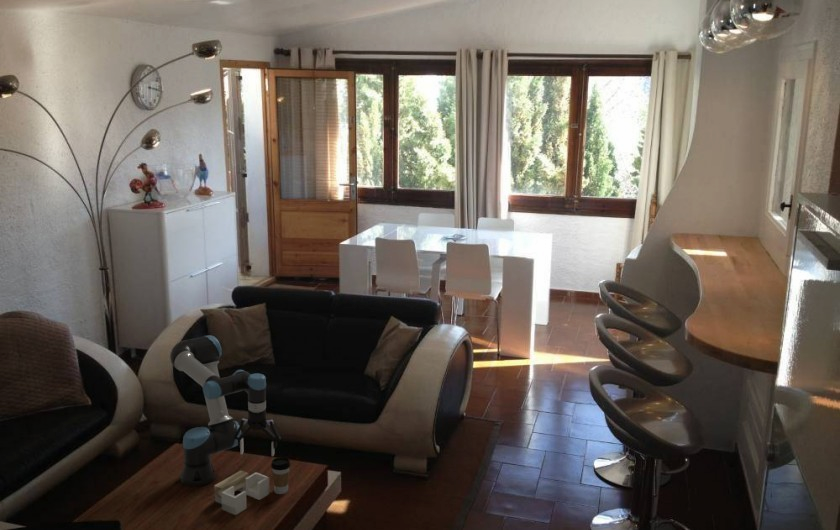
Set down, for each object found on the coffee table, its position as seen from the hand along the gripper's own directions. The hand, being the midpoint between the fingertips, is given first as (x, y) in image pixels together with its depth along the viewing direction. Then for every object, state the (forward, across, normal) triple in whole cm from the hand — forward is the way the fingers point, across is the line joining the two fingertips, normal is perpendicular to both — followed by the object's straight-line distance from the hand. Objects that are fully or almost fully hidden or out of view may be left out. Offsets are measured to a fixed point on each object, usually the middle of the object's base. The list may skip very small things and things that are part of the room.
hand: (257, 454), depth 326 cm
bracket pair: (+20, -4, -5) cm, 21 cm away
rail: (+17, -11, -1) cm, 21 cm away
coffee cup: (+20, +10, +4) cm, 23 cm away
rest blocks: (+20, -11, -1) cm, 23 cm away
